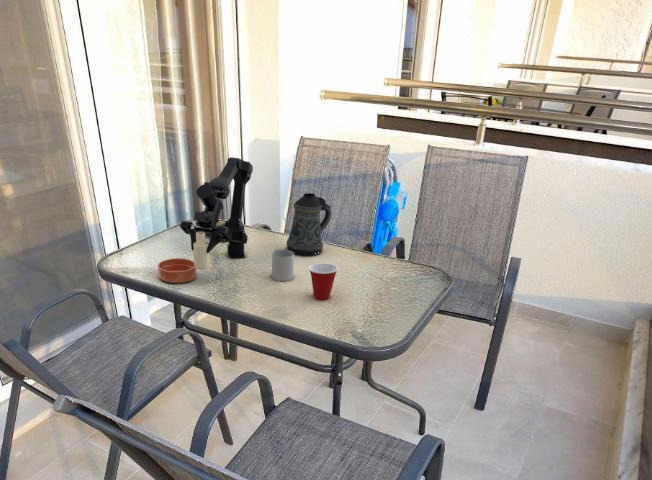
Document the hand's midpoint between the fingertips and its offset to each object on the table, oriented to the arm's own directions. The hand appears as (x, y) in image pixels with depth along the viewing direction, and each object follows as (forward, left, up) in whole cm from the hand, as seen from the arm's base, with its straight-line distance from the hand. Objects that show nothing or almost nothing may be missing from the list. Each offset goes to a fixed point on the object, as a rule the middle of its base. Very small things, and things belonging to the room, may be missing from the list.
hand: (199, 251), depth 184 cm
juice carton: (-15, -57, -14) cm, 60 cm away
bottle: (-1, -1, -7) cm, 7 cm away
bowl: (+8, -10, -13) cm, 18 cm away
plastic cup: (-41, +19, -14) cm, 48 cm away
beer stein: (-52, -30, -14) cm, 62 cm away
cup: (-32, -2, -14) cm, 35 cm away
